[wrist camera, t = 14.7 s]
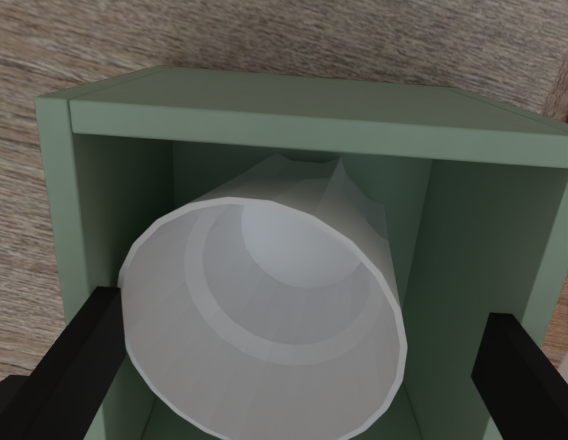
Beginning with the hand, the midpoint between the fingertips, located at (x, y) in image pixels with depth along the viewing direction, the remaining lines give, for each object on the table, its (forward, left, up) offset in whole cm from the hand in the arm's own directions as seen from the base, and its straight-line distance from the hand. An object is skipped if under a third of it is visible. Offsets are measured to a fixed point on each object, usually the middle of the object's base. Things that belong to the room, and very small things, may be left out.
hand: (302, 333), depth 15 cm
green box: (+1, +1, -11) cm, 11 cm away
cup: (0, +1, -10) cm, 10 cm away
